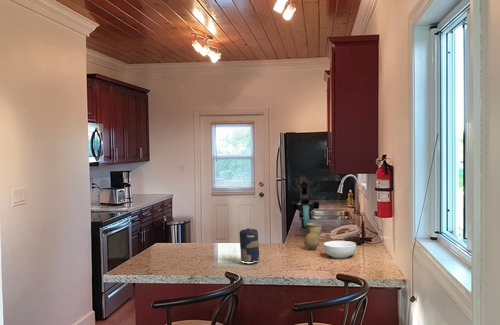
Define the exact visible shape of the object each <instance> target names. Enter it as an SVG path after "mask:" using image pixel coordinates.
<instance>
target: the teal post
mask: <svg viewBox="0 0 500 325" xmlns="http://www.w3.org/2000/svg"><path fill="white" fill-rule="evenodd" d="M309 218H310V217H309V205H303V220H304V226H305V227H306V224H307V223H311V221H310V219H309Z"/></svg>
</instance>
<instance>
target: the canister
mask: <svg viewBox="0 0 500 325" xmlns="http://www.w3.org/2000/svg"><path fill="white" fill-rule="evenodd" d="M239 247H240V261H241V260H242V261H244V262H254V261H258V260H259V261H260V245H259V232H258V230H257V229H254V228H249V227H248V228H247V227H246V228H245V229H240V231H239Z"/></svg>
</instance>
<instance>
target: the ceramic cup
mask: <svg viewBox="0 0 500 325" xmlns="http://www.w3.org/2000/svg"><path fill="white" fill-rule="evenodd" d="M322 225H323V223H321V222H310V223H307V224H306V227H307V231H308V234H309V233H311V232H314V233H316V234H317V235H318V236H319V238H320V239H321V234H322V232H321V231H322Z"/></svg>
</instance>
